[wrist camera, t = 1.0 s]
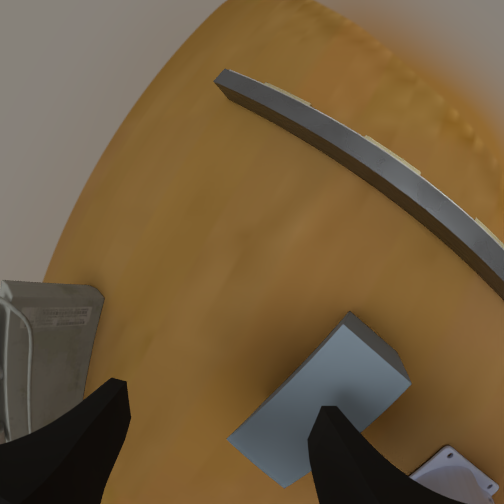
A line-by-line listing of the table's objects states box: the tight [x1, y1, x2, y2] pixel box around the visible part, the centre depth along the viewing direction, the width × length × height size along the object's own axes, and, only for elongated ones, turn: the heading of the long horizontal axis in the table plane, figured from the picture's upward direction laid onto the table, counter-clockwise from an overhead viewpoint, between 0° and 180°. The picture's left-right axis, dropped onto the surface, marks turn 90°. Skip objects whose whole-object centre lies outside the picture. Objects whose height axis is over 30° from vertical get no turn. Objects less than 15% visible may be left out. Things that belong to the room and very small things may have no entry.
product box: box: [227, 311, 412, 488], centre depth 16 cm, size 4×9×7 cm, turn 140°
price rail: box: [214, 69, 504, 300], centre depth 18 cm, size 30×2×3 cm, turn 50°
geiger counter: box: [0, 280, 104, 444], centre depth 22 cm, size 14×6×25 cm
